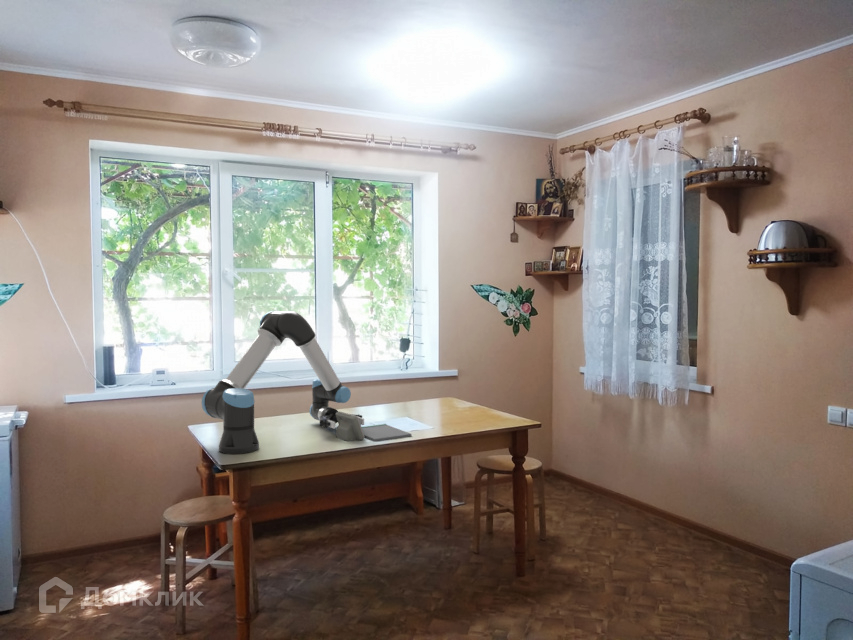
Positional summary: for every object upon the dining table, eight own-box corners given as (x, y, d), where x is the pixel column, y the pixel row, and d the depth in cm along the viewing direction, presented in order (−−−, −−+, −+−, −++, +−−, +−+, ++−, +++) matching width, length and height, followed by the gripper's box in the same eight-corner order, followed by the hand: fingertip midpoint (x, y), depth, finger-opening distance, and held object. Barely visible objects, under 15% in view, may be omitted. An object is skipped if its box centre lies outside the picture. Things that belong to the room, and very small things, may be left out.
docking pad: (374, 441, 249) (374, 438, 249) (349, 430, 270) (349, 427, 270) (411, 436, 259) (411, 433, 259) (384, 426, 279) (384, 423, 279)
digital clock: (366, 440, 251) (365, 415, 251) (345, 443, 247) (345, 417, 247) (352, 433, 265) (351, 409, 265) (332, 435, 261) (332, 411, 261)
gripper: (353, 420, 281) (375, 429, 264) (303, 426, 268) (322, 436, 250) (353, 404, 281) (375, 412, 263) (303, 410, 268) (321, 418, 250)
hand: (349, 423), depth 257 cm, fingers open, 13 cm apart
